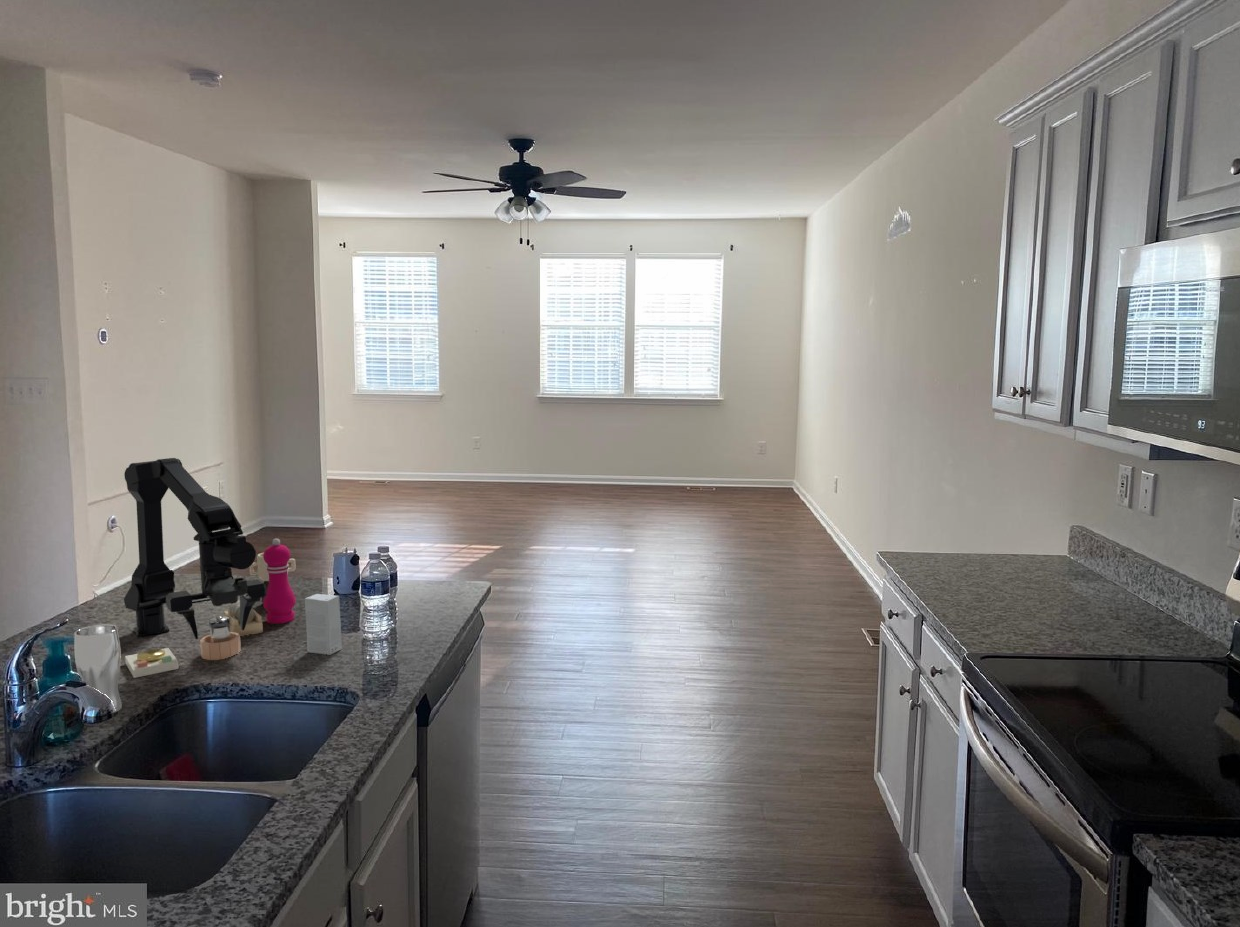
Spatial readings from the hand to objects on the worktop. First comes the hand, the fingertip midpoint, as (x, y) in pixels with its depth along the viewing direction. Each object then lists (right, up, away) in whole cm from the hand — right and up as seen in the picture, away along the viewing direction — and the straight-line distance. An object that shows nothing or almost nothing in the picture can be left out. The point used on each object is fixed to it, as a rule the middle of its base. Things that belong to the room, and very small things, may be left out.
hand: (219, 634), depth 180 cm
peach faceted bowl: (0, -4, +1) cm, 4 cm away
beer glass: (-8, -8, -28) cm, 30 cm away
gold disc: (-11, -3, -7) cm, 13 cm away
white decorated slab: (-11, -5, -7) cm, 14 cm away
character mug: (-3, 0, +37) cm, 37 cm away
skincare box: (+22, -4, +2) cm, 22 cm away
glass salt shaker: (0, -4, 0) cm, 4 cm away
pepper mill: (+3, -2, +23) cm, 24 cm away
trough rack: (-2, -2, +16) cm, 17 cm away
